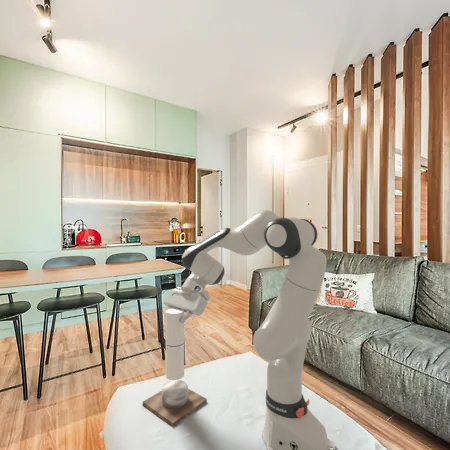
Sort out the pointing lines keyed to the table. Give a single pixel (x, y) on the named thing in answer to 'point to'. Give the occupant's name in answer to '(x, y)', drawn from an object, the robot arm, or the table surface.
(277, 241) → the robot arm
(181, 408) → the base
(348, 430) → the table surface
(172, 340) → the cylindrical container
